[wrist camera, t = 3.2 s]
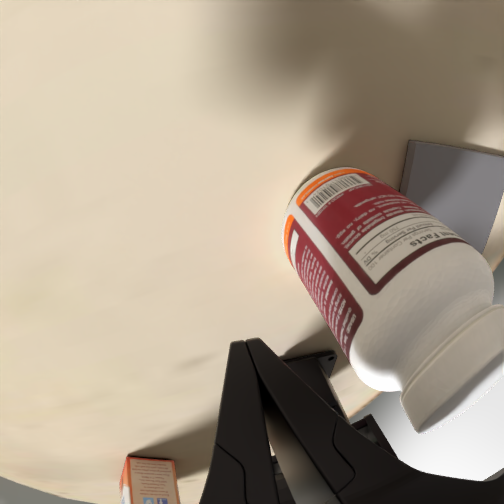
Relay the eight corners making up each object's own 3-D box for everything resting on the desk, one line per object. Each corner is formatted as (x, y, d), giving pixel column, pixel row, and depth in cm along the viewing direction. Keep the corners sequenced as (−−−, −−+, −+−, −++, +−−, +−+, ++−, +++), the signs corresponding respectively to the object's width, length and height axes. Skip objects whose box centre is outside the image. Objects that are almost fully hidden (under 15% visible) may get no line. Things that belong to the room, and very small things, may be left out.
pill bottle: (348, 277, 18) (451, 428, 9) (257, 256, 16) (352, 467, 7) (400, 187, 16) (553, 317, 7) (312, 142, 13) (520, 305, 4)
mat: (470, 267, 22) (474, 271, 21) (373, 289, 20) (377, 295, 19) (506, 157, 16) (511, 160, 16) (409, 140, 14) (416, 143, 14)
